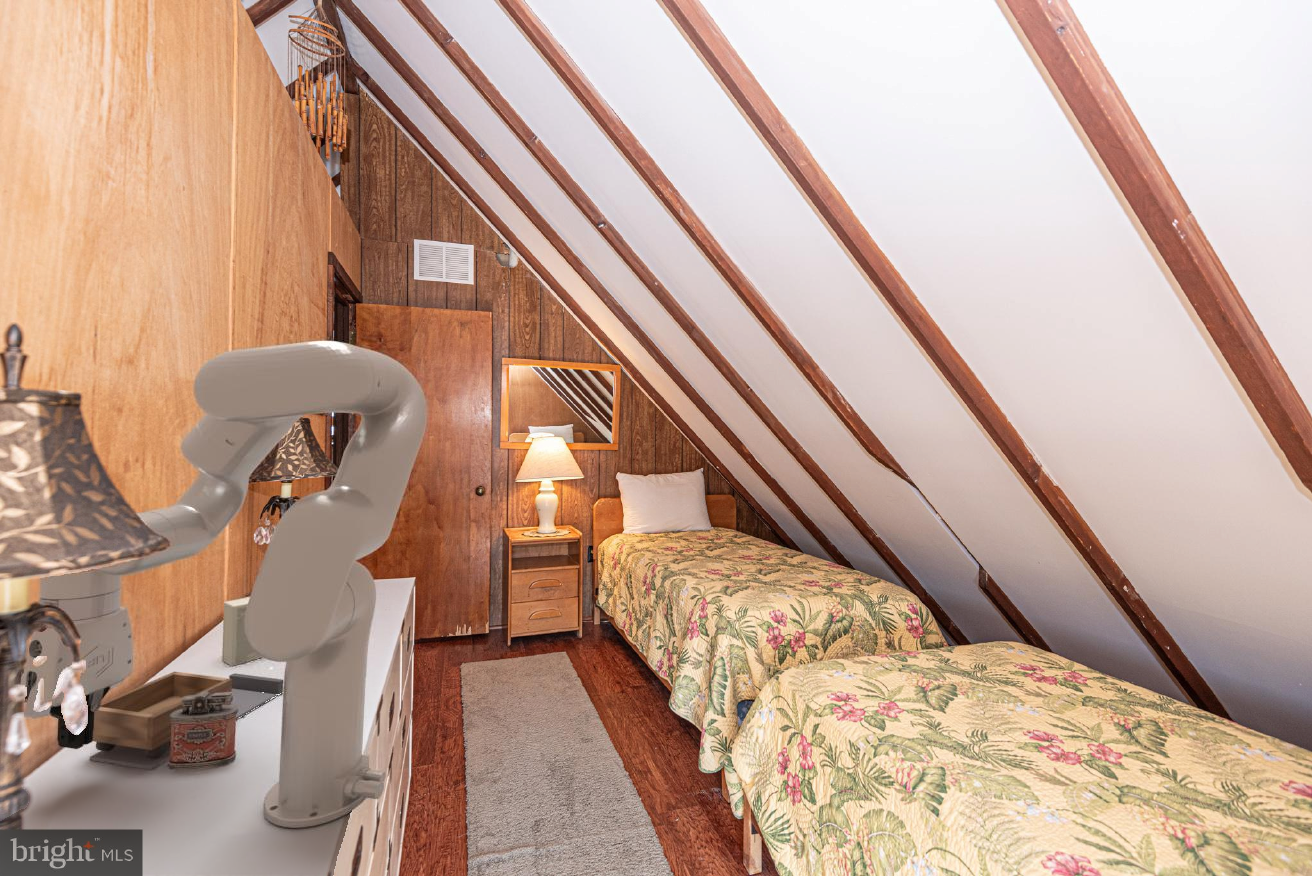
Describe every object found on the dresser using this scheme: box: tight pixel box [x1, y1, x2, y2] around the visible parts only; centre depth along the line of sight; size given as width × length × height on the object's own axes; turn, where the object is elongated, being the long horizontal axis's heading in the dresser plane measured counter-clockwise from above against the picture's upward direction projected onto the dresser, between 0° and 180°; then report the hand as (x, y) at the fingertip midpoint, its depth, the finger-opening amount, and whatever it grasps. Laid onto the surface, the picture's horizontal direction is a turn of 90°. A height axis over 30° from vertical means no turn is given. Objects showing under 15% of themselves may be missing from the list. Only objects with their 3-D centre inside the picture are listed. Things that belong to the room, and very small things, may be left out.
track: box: [89, 673, 284, 771], centre depth 92 cm, size 10×24×2 cm, turn 172°
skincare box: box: [221, 596, 263, 667], centre depth 116 cm, size 6×4×12 cm
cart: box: [92, 671, 232, 759], centre depth 86 cm, size 11×13×7 cm
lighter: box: [167, 691, 238, 771], centre depth 82 cm, size 8×3×10 cm, turn 105°
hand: (75, 744), depth 74 cm, fingers closed
